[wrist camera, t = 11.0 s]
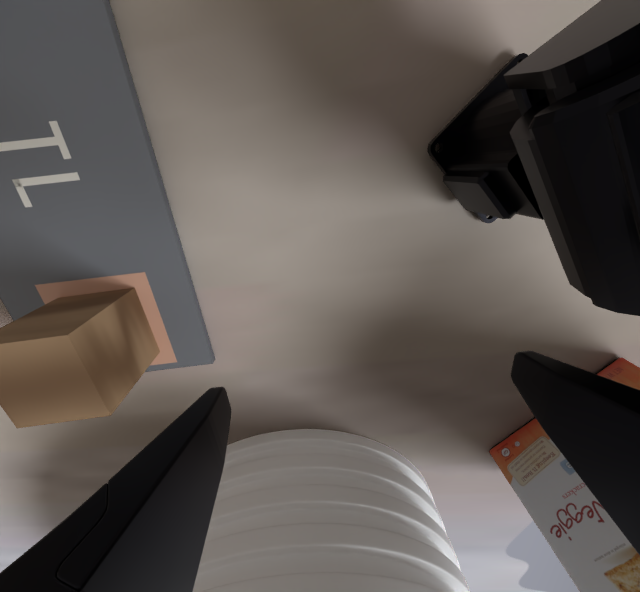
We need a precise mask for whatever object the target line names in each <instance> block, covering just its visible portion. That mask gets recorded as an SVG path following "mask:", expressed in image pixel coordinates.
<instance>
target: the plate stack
mask: <svg viewBox="0 0 640 592" xmlns="http://www.w3.org/2000/svg"><path fill="white" fill-rule="evenodd" d="M193 592H471V591H470V589H469V586H468V584H467V582H466V579H465V577H464V576H463V574H462V572H461V570H460V565H459V562H458V559H457V556H456V554H455V551H454V549H453V546H452V544H451V542H450V540H449V538H448V536H447V534H446V530H445V527H444V524H443V522H442V519H441V517H440V514H439V512H438V510H437V508H436V506H435V503H434V500H433V497H432V494H431V492H430V489H429V487H428V485H427V482H426V480H425V479H424V477H423V475H422V474H421V473H420V471H419V470H418V469H417V468H416V467H415V466H414V465H413V464H412V463H411V462H410V461H409V460H408V459H407V458H405V457H404V456H403V455H401V454H400V453H398V452H397V451H395V450H394V449H392V448H390V447H388V446H386V445H384V444H382V443H380V442H377V441H375V440H372V439H369V438H366V437H363V436H359V435H355V434H351V433H346V432H340V431H333V430H323V429H295V430H283V431H276V432H270V433H265V434H260V435H256V436H252V437H249V438H245V439H242V440H239V441H237V442H234V443H231V444H229V445H227V449H226V456H225V462H224V467H223V472H222V476H221V480H220V484H219V488H218V492H217V496H216V500H215V504H214V508H213V512H212V516H211V520H210V524H209V528H208V532H207V536H206V540H205V544H204V548H203V552H202V556H201V560H200V564H199V568H198V572H197V576H196V580H195V584H194V588H193Z"/></svg>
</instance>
